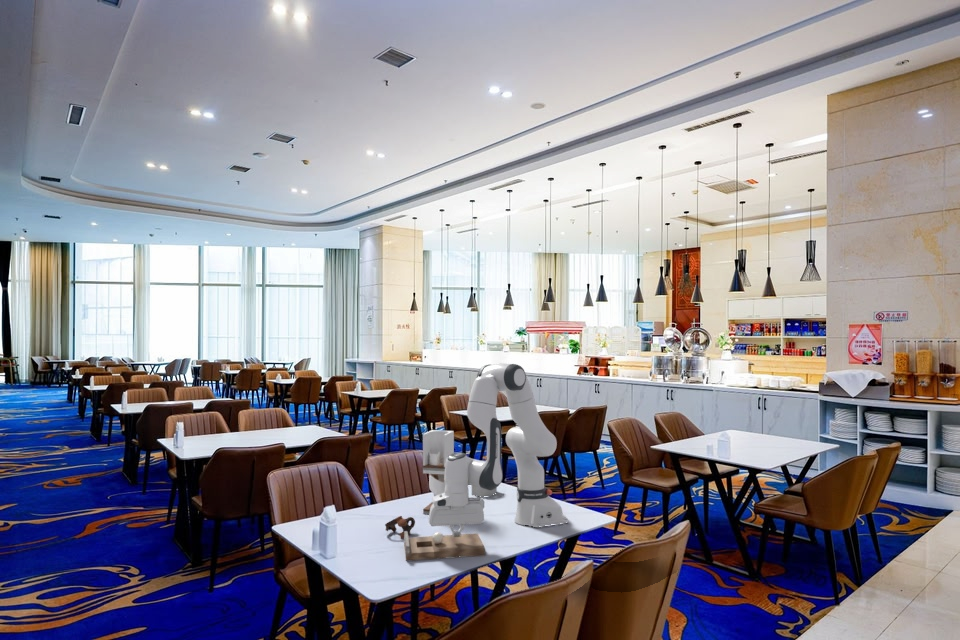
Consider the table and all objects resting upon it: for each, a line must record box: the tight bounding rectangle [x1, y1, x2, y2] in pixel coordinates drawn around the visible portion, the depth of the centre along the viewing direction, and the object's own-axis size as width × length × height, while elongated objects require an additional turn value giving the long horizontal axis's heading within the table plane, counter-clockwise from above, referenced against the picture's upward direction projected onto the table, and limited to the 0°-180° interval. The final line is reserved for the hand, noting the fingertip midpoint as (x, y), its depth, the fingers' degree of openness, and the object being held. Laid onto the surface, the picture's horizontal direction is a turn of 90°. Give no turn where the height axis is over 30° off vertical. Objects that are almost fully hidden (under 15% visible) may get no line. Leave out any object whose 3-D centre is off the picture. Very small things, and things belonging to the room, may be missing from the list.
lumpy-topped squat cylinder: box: [471, 485, 498, 498], centre depth 287 cm, size 10×13×9 cm
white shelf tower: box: [422, 429, 455, 515], centre depth 259 cm, size 11×11×35 cm
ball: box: [432, 531, 443, 544], centre depth 211 cm, size 4×4×4 cm
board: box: [403, 531, 486, 562], centre depth 211 cm, size 28×16×5 cm, turn 100°
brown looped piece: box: [384, 515, 416, 540], centre depth 228 cm, size 12×10×8 cm
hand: (456, 536), depth 212 cm, fingers closed
